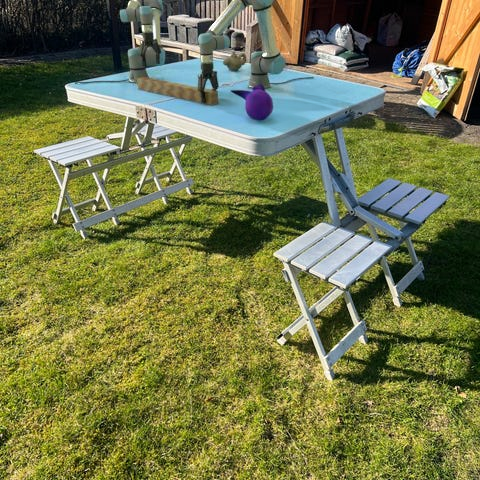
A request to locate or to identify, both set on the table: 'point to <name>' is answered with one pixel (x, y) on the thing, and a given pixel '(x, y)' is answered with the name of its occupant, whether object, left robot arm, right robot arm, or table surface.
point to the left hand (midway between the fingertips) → (151, 65)
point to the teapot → (235, 61)
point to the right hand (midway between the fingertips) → (209, 101)
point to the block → (177, 90)
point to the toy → (256, 102)
